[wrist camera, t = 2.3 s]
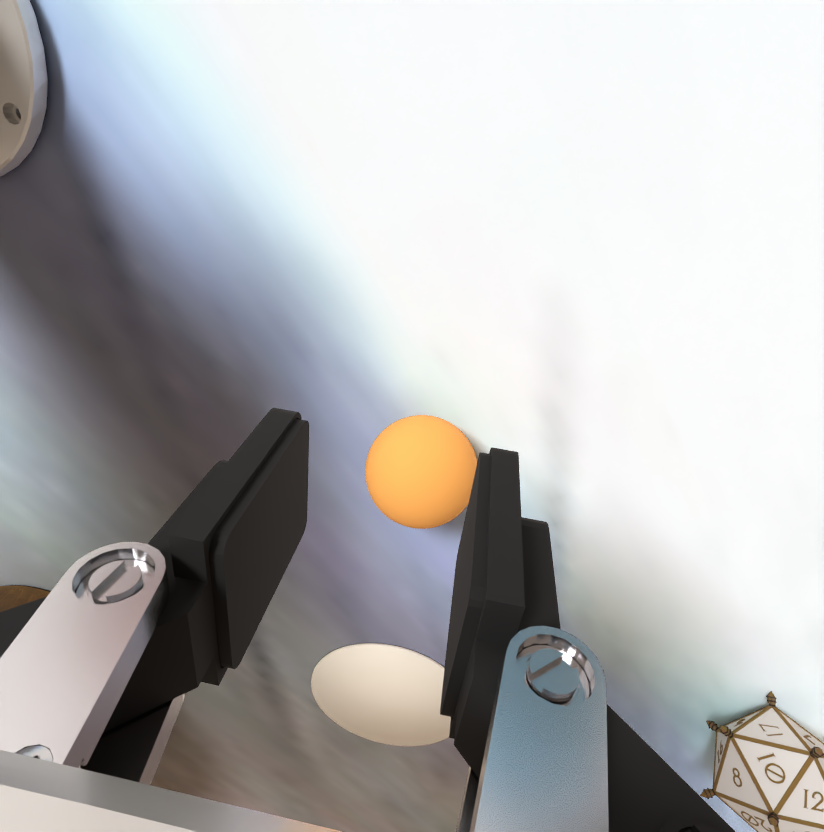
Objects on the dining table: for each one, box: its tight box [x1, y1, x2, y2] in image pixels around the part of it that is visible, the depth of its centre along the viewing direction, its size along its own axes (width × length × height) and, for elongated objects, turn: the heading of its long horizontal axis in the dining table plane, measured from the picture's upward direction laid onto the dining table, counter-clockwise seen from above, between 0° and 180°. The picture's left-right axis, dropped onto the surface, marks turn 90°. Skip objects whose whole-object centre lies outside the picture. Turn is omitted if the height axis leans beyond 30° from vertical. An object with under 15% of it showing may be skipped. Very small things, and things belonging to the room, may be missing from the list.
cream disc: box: [311, 643, 451, 746], centre depth 43 cm, size 13×13×1 cm
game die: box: [700, 691, 824, 832], centre depth 34 cm, size 9×8×10 cm
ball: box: [365, 415, 477, 529], centre depth 28 cm, size 6×6×6 cm
